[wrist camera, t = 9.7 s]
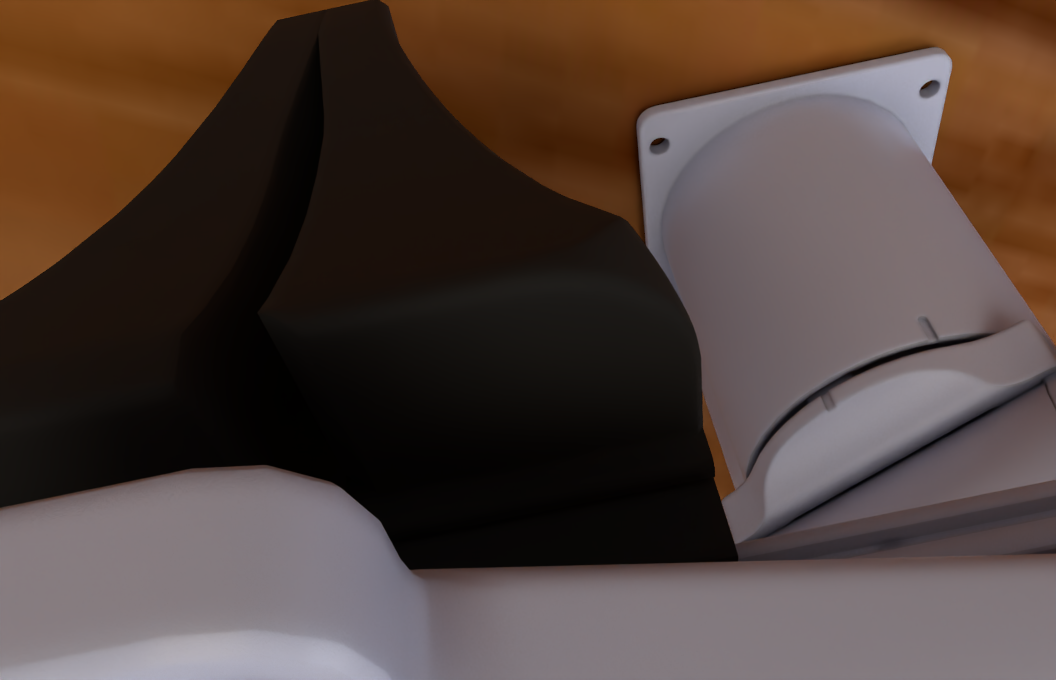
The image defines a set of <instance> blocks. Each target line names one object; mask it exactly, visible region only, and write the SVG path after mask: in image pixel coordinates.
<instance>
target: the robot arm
mask: <svg viewBox="0 0 1056 680" xmlns="http://www.w3.org/2000/svg"><path fill="white" fill-rule="evenodd" d="M951 70H952V60H951V59H950V57H949V56H948V55H947V53H946V52H945V51H944V50H943V49H941V48H938V47H933V48H926V49H922V50H917V51H912V52H907V53H903V54H898V55H893V56H888V57H884V58H879V59H874V60H870V61H865V62H860V63H855V64H851V65H846V66H841V67H836V68H832V69H827V70H822V71H818V72H813V73H808V74H803V75H799V76H794V77H789V78H784V79H780V80H775V81H770V82H766V83H761V84H756V85H751V86H747V87H742V88H737V89H732V90H728V91H723V92H718V93H713V94H709V95H704V96H699V97H695V98H690V99H685V100H680V101H676V102H671V103H666V104H661V105H657V106H653V107H651V108H648V109H646V110H645V111H644V112H643V113H641V115H640V116H639V118H638V120H637V125H636V129H637V141H638V154H639V166H640V179H641V191H642V204H643V216H644V229H645V241H646V245H645V244H644V242H643V241H642V240H641V238H640V237H639V236H638V234H637V233H636V232H635V230H634V229H633V228H632V226H631V225H630V224H629V223H628V222H627V221H626V220H625V219H623V218H622V217H620V216H617V215H614V214H612V213H609V212H606V211H603V210H601V209H598V208H595V207H592V206H590V205H587V204H584V203H581V202H579V201H576V200H573V199H570V198H568V197H565V196H563V195H561V194H559V193H557V192H555V191H553V190H551V189H549V188H547V187H545V186H543V185H541V184H540V183H538V182H537V181H535V180H533V179H532V178H530V177H529V176H527V175H526V174H524V173H523V172H521V171H519V170H518V169H516V168H515V167H513V166H512V165H510V164H509V163H507V162H505V161H504V160H503V159H501V158H500V157H499V156H498V155H496V154H495V153H494V152H493V151H491V150H490V149H489V148H488V147H486V146H485V145H484V144H483V143H481V142H480V141H479V140H478V139H477V138H476V137H475V136H474V135H472V134H471V133H470V132H469V131H468V130H467V129H466V128H465V127H464V126H463V125H462V124H461V123H460V122H459V121H458V120H457V119H456V118H455V117H454V116H453V115H452V114H451V113H450V112H449V111H448V110H447V109H446V108H445V106H444V105H443V104H442V103H441V102H440V101H439V99H438V98H437V97H436V96H435V95H434V94H433V92H432V91H431V90H430V89H429V87H428V86H427V85H426V83H425V82H424V81H423V80H422V78H421V77H420V75H419V74H418V72H417V71H416V69H415V68H414V66H413V65H412V64H411V62H410V61H409V59H408V58H407V56H406V54H405V53H404V51H403V49H402V48H401V46H400V44H399V41H398V38H397V34H396V31H395V27H394V24H393V21H392V17H391V14H390V10H389V7H388V6H387V5H386V4H384V3H383V2H381V1H380V0H369V1H364V2H359V3H355V4H350V5H345V6H341V7H336V8H331V9H327V10H322V11H318V12H313V13H308V14H304V15H299V16H294V17H290V18H285V19H280V20H277V21H276V23H275V24H274V25H273V26H272V27H271V29H270V30H269V31H268V33H267V34H266V36H265V37H264V39H263V40H262V41H261V43H260V44H259V46H258V47H257V49H256V50H255V52H254V53H253V55H252V56H251V58H250V59H249V60H248V62H247V63H246V65H245V66H244V68H243V69H242V71H241V72H240V73H239V75H238V76H237V78H236V79H235V80H234V82H233V83H232V85H231V86H230V87H229V89H228V90H227V92H226V93H225V94H224V96H223V97H222V99H221V100H220V101H219V103H218V104H217V106H216V107H215V108H214V109H213V111H212V112H211V113H210V114H209V116H208V117H207V118H206V119H205V121H204V122H203V123H202V124H201V125H200V127H199V128H198V129H197V130H196V132H195V133H194V134H193V135H192V136H191V138H190V139H189V140H188V141H187V143H186V144H185V145H184V146H183V148H182V149H181V150H180V151H179V152H178V154H177V155H176V156H175V157H174V158H173V159H172V160H171V162H170V163H169V164H168V165H167V166H166V167H165V168H164V169H163V170H162V171H161V172H160V173H159V174H158V175H157V176H156V178H155V179H154V180H153V181H152V182H151V183H150V184H149V185H148V186H147V187H145V188H144V189H143V190H142V191H141V192H140V193H139V194H138V195H137V196H136V197H135V198H134V199H133V200H132V201H131V202H130V203H129V204H128V205H127V206H126V207H125V208H123V209H122V210H121V211H120V212H119V213H118V214H117V215H116V216H115V217H113V218H112V219H111V220H110V221H108V222H107V223H106V224H105V225H103V226H102V227H101V228H100V229H98V230H97V231H96V232H95V233H93V234H92V235H91V236H90V237H88V238H87V239H86V240H85V241H84V242H82V243H81V244H80V245H79V246H77V247H76V248H75V249H74V250H72V251H71V252H70V253H69V254H67V255H66V256H65V257H64V258H62V259H61V260H60V261H58V262H57V263H56V264H54V265H53V266H52V267H50V268H49V269H47V270H46V271H44V272H43V273H42V274H40V275H39V276H37V277H36V278H34V279H33V280H31V281H30V282H29V283H27V284H26V285H24V286H23V287H21V288H20V289H18V290H17V291H15V292H14V293H12V294H10V295H9V296H7V297H6V298H4V299H3V300H1V301H0V680H1056V346H1055V345H1054V343H1053V342H1052V340H1051V339H1050V337H1049V336H1048V334H1047V333H1046V332H1045V330H1044V329H1043V327H1042V326H1041V324H1040V323H1039V321H1038V320H1037V318H1036V317H1035V316H1034V314H1033V313H1032V311H1031V310H1030V308H1029V307H1028V305H1027V304H1026V302H1025V301H1024V299H1023V298H1022V297H1021V295H1020V294H1019V292H1018V291H1017V289H1016V288H1015V286H1014V285H1013V283H1012V282H1011V281H1010V279H1009V278H1008V276H1007V275H1006V273H1005V272H1004V270H1003V269H1002V267H1001V266H1000V264H999V263H998V262H997V260H996V259H995V257H994V256H993V254H992V253H991V251H990V250H989V248H988V247H987V246H986V244H985V243H984V241H983V240H982V238H981V237H980V235H979V234H978V232H977V231H976V229H975V228H974V227H973V225H972V224H971V222H970V221H969V219H968V218H967V216H966V215H965V213H964V212H963V211H962V209H961V208H960V206H959V205H958V203H957V202H956V200H955V199H954V197H953V196H952V194H951V193H950V192H949V190H948V189H947V187H946V186H945V184H944V183H943V181H942V180H941V178H940V177H939V176H938V174H937V173H936V171H935V170H934V168H933V167H932V165H931V163H932V158H933V154H934V149H935V144H936V140H937V135H938V130H939V126H940V121H941V116H942V112H943V107H944V102H945V98H946V93H947V88H948V84H949V79H950V74H951ZM931 80H933V81H932V83H931V84H930V85H929V86H928V87H927V88H924V89H922V90H920V89H921V87H922V86H923V85H924V84H925V83H926V82H929V81H931ZM657 138H665V140H664V141H663V142H662V143H661V144H659V145H650V144H651V143H652V142H653V141H654V140H655V139H657ZM702 392H703V395H704V398H705V401H706V404H707V407H708V410H709V413H710V416H711V419H712V422H713V425H714V428H715V431H716V434H717V437H718V440H719V443H720V446H721V449H722V452H723V455H724V458H725V461H726V464H727V466H728V469H729V472H730V475H731V478H732V481H733V484H734V487H735V489H736V490H735V491H733V492H732V493H730V494H729V495H727V496H726V497H725V498H723V500H722V503H721V500H720V496H719V493H718V490H717V487H716V484H715V481H714V478H713V477H715V467H714V462H713V457H712V454H711V451H710V448H709V445H708V442H707V439H706V436H705V433H704V430H703V413H702ZM722 505H723V506H722ZM723 508H724V509H723ZM724 511H725V512H724ZM725 514H726V515H725ZM726 517H727V518H726ZM727 520H728V521H727ZM728 524H729V525H728ZM729 527H730V528H729ZM730 530H731V531H730ZM731 533H732V534H731ZM732 536H733V537H732ZM733 539H734V540H733ZM734 542H735V543H734Z"/></svg>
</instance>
